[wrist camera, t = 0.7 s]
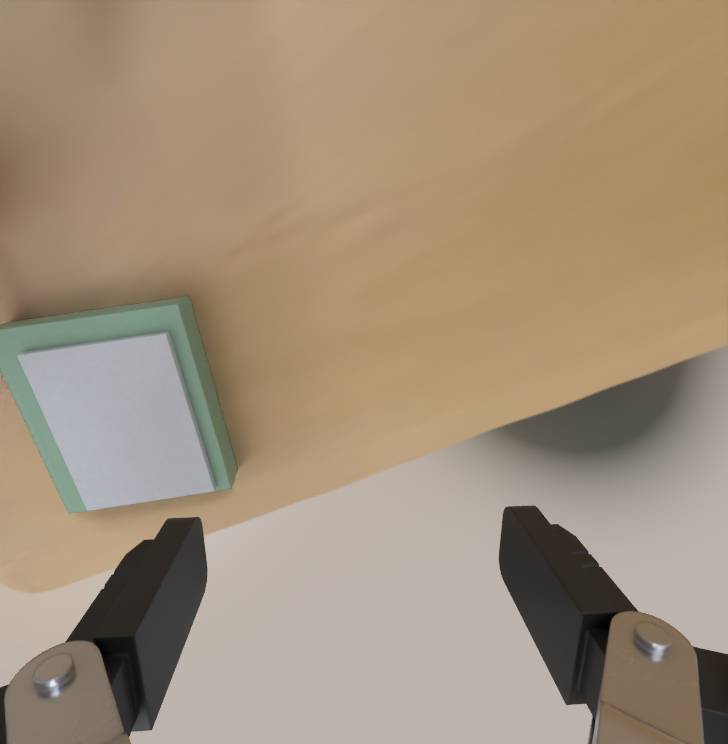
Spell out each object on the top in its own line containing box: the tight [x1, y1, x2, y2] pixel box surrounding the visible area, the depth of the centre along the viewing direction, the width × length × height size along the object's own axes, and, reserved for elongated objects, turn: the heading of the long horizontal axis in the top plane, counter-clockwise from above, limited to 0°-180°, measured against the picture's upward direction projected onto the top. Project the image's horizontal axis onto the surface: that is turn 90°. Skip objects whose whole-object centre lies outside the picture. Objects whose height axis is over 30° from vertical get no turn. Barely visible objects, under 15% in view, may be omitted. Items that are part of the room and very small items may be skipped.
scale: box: [0, 296, 238, 514], centre depth 30 cm, size 14×12×3 cm
